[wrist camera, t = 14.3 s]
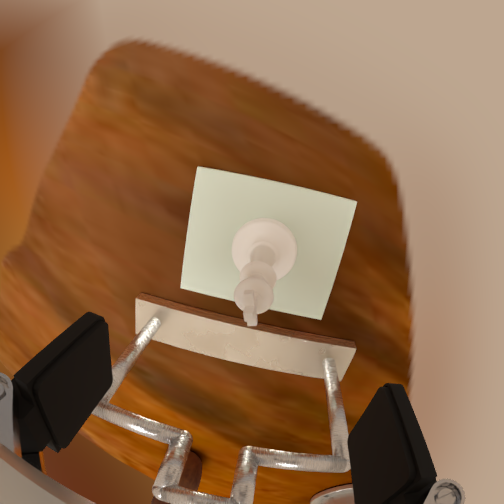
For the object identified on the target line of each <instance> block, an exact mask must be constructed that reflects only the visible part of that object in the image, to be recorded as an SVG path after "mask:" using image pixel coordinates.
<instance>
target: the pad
mask: <svg viewBox="0 0 504 504" xmlns="http://www.w3.org/2000/svg"><path fill="white" fill-rule="evenodd" d="M356 204H357V202H356V201H355V200H351V199H347V198H344V197H340V196H336V195H332V194H328V193H324V192H320V191H316V190H312V189H308V188H304V187H300V186H295V185H291V184H287V183H282V182H278V181H273V180H269V179H264V178H259V177H254V176H249V175H244V174H239V173H234V172H229V171H223V170H218V169H212V168H206V167H201V166H200V167H197V172H196V178H195V184H194V190H193V196H192V202H191V209H190V216H189V223H188V230H187V237H186V245H185V253H184V261H183V269H182V278H181V287H180V288H183V289H187V290H191V291H194V292H198V293H202V294H206V295H210V296H214V297H219V298H223V299H227V300H231V301H235V300H234V291H235V288H236V286H237V285H238V284H239V283H240V278H239V277H240V271H239V270H238V269H237V267H236V266H235V264H234V261H233V258H232V242H233V239H234V236H235V234H236V233H237V231H238V230H239V229H240V228H241V227H242V226H243V225H244V224H245V223H247V222H249V221H251V220H254V219H258V218H270V219H274V220H277V221H279V222H281V223H283V224H284V225H285V226H287V227H288V228H289V229H290V231H291V232H292V234H293V235H294V237H295V240H296V243H297V257H296V260H295V263H294V265H293V267H292V269H291V270H290V271H289V272H288V273H287V274H286V275H285V276H284V277H282V278H281V279H279V280H276V284H275V286H274V288H273V289H272V290H273V294H274V300H273V303H272V305H271V307H270V308H269V309H271V310H275V311H280V312H285V313H289V314H294V315H299V316H304V317H309V318H314V319H319V320H321V319H322V316H323V313H324V310H325V307H326V304H327V301H328V298H329V295H330V292H331V289H332V286H333V283H334V280H335V277H336V274H337V271H338V268H339V264H340V261H341V258H342V254H343V251H344V248H345V244H346V241H347V237H348V234H349V230H350V227H351V223H352V219H353V216H354V212H355V208H356Z"/></svg>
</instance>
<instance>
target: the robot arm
mask: <svg viewBox="0 0 504 504" xmlns="http://www.w3.org/2000/svg"><path fill="white" fill-rule="evenodd" d="M112 382H113V375H112V366H111V356H110V345H109V331H108V324H107V323H106V322H105V319H104V318H103V317H102V316H99V315H97V314H94V313H92V312H87V313H86V314H84V315H83V316H82V317H81V318H79V319H78V320H77V321H76V322H75V323H73V324H72V325H71V326H70V327H69V328H67V329H66V330H65V331H64V332H63V333H61V334H60V335H59V336H58V337H57V338H55V339H54V340H53V341H52V342H51V343H50V344H48V345H47V346H46V347H45V348H44V349H43V350H42V351H40V352H39V353H38V354H37V355H36V356H35V357H34V358H32V359H31V360H30V361H29V362H28V363H27V364H26V365H25V366H23V367H22V368H21V369H20V370H19V371H18V372H17V373H16V374H15V375H14V379H12V380H10V378H9V377H7V376H6V375H5V374H3V373H0V504H96V503H94V502H92V501H89V500H88V499H86V498H84V497H82V496H80V495H79V494H77V493H75V492H73V491H72V490H70V489H68V488H66V487H65V486H63V485H61V484H60V483H58V482H56V481H55V480H53V479H51V478H50V477H48V476H47V473H46V468H45V463H44V457H43V449H44V448H45V447H46V446H48V447H49V448H51V449H52V450H54V451H55V452H57V453H58V452H59V451H60V450H61V448H66V447H67V446H68V445H69V444H70V442H71V441H72V439H73V438H74V436H75V435H76V434H77V432H78V431H79V430H80V428H81V427H82V425H83V424H84V423H85V421H86V420H87V418H88V417H89V416H90V414H91V413H92V412H93V410H94V409H95V407H96V406H97V405H98V403H99V402H100V401H101V399H102V398H103V397H104V395H105V394H106V393H107V391H108V390H109V389H110V387H111V385H112ZM347 444H348V452H349V459H350V467H351V475H352V484H348V485H343V486H338V487H334V488H330V489H327V490H325V491H322V492H320V493H318V494H316V495H315V496H313V497H312V498H311V500H310V504H464V501H465V493H464V491H463V488H462V487H461V486H460V485H459V484H458V483H457V482H456V481H454V480H451V479H442V480H439V481H436V478H435V477H436V476H437V474H436V471H435V468H434V465H433V462H432V459H431V456H430V453H429V450H428V448H427V445H426V442H425V440H424V437H423V434H422V431H421V429H420V426H419V424H418V421H417V418H416V416H415V414H414V411H413V408H412V406H411V404H410V401H409V399H408V396H407V394H406V392H405V389H404V387H403V385H401V384H392V383H386V384H385V385H384V386H383V387H380V388H379V389H378V390H377V392H376V394H375V395H374V397H373V399H372V400H371V402H370V404H369V405H368V407H367V408H366V410H365V411H364V413H363V415H362V416H361V418H360V419H359V421H358V422H357V424H356V425H355V427H354V428H353V430H352V431H351V433H350V434H349V436H348V440H347Z"/></svg>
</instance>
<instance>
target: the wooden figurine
mask: <svg viewBox="0 0 504 504" xmlns="http://www.w3.org/2000/svg"><path fill="white" fill-rule="evenodd" d="M161 465H162V463H161ZM160 467H161V466H160ZM159 470H160V468H159ZM158 472H159V471H158ZM201 474H202V463H201V459H200V457H199V456H197V455H196V454H195V453H194V452H192V451H189V454H188V457H187V460H186V463H185V466H184V469H183V472H182V475H181V478H180V481H179V484H178V486H180V487H184V488H188V489H191V490H195V491H197V489H198V487H199V484H200V480H201ZM152 504H170V503H167V502H164V501H161V500H158V499H157V498H156V497H155V496H154V497H153V499H152Z"/></svg>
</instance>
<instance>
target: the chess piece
mask: <svg viewBox="0 0 504 504" xmlns="http://www.w3.org/2000/svg"><path fill="white" fill-rule="evenodd" d="M296 257H297V243H296V240H295V237H294V235H293V234H292V232H291V231H290V229H289V228H288V227H287V226H285V225H284V224H283V223H281V222H279V221H277V220H274V219H270V218H258V219H254V220H251V221H249V222H247V223H245V224H244V225H243V226H242V227H241V228H240V229H239V230H238V231H237V233H236V234H235V236H234V239H233V242H232V258H233V261H234V264H235V266H236V267H237V269H238V270H239V271H240V277H239V278H240V283H239V284H238V285H237V286H236V288H235V291H234V300H235V303H236V305H237V306H238V307H239V308H240V309H241V310H242V311H244V312H243V316H244V322H247V326H257V322H258V320H257V314H261V313H263V312H265V311H267V310H268V309H269V308H270V307H271V305H272V303H273V300H274V294H273V290H272V289H273V288H274V286H275V284H276V280H279V279H281V278H282V277H284V276H285V275H286V274H287V273H288V272H289V271H290V270H291V269H292V267H293V265H294V263H295V260H296Z"/></svg>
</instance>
